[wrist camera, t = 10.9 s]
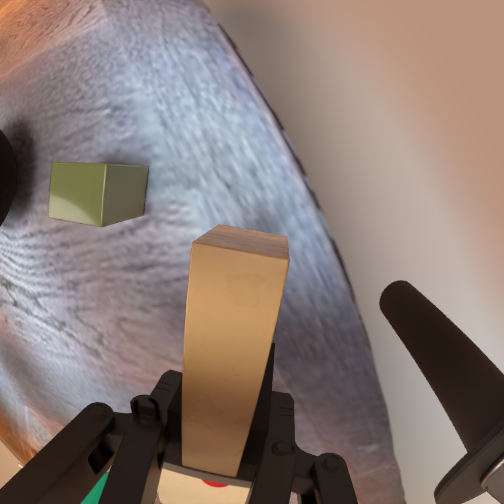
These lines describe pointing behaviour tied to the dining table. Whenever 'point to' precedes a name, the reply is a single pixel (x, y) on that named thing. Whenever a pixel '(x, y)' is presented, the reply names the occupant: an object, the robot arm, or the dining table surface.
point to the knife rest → (97, 192)
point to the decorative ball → (6, 176)
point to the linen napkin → (196, 491)
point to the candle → (96, 491)
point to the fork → (226, 348)
